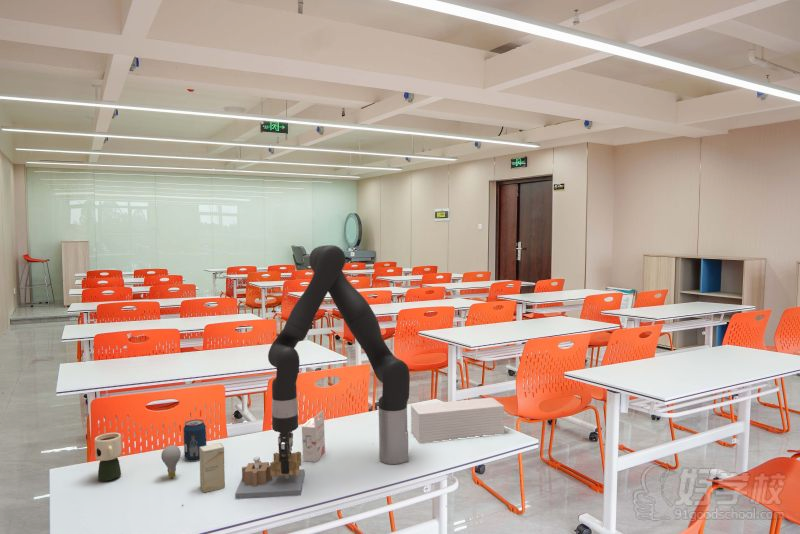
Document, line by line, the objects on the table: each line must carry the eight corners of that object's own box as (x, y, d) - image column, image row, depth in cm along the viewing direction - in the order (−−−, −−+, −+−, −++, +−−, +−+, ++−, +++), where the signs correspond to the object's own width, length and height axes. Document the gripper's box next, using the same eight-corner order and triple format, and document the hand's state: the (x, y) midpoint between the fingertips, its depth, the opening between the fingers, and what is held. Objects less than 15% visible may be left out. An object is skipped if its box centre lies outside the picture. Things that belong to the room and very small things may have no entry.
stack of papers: (492, 425, 212) (492, 397, 212) (504, 435, 202) (504, 405, 201) (411, 433, 205) (410, 405, 204) (419, 444, 194) (418, 414, 194)
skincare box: (203, 493, 159) (202, 451, 158) (199, 487, 163) (198, 446, 162) (225, 487, 162) (224, 446, 162) (221, 481, 166) (220, 442, 165)
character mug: (94, 475, 172) (92, 433, 171) (120, 469, 176) (118, 429, 175) (98, 488, 163) (96, 444, 162) (125, 481, 167) (123, 439, 166)
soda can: (201, 452, 189) (199, 417, 189) (210, 457, 184) (209, 422, 184) (181, 457, 184) (179, 422, 184) (190, 463, 180) (188, 427, 179)
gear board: (304, 473, 171) (304, 448, 170) (300, 495, 157) (299, 467, 156) (244, 477, 169) (243, 450, 169) (235, 498, 155) (234, 470, 155)
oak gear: (301, 464, 169) (301, 451, 168) (299, 475, 160) (298, 462, 160) (274, 465, 168) (273, 452, 168) (270, 477, 160) (269, 463, 160)
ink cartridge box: (311, 451, 189) (310, 408, 188) (325, 452, 188) (324, 409, 187) (302, 461, 180) (300, 416, 179) (316, 462, 179) (315, 417, 178)
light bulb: (163, 483, 166) (161, 450, 165) (161, 476, 170) (160, 444, 170) (182, 479, 168) (181, 447, 167) (180, 472, 173) (179, 441, 172)
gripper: (295, 420, 156) (297, 478, 157) (300, 404, 171) (301, 458, 172) (268, 421, 156) (270, 480, 157) (275, 405, 170) (276, 459, 171)
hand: (286, 468), depth 164 cm, fingers closed on oak gear, 6 cm apart
